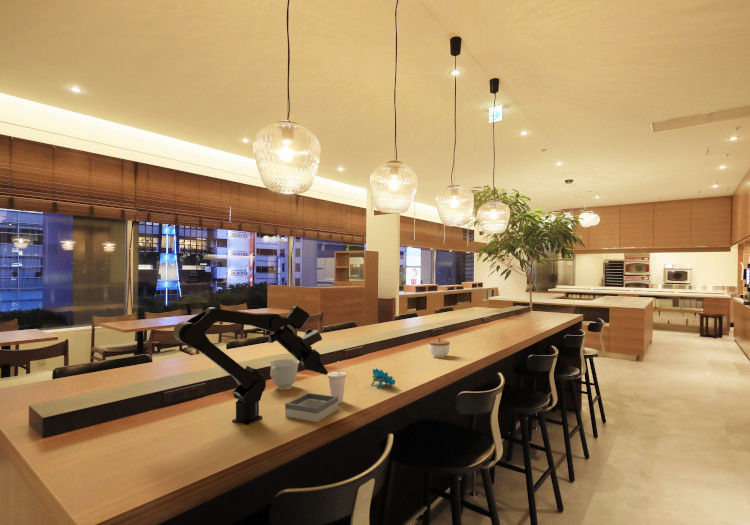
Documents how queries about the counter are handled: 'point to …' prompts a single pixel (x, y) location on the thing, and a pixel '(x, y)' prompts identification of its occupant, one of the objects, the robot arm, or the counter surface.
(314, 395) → the socket box
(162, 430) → the counter surface
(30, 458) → the counter surface
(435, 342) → the lidded jar
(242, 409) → the robot arm
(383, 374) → the blue bumpy figure
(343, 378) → the smoothie
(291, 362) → the teacup
